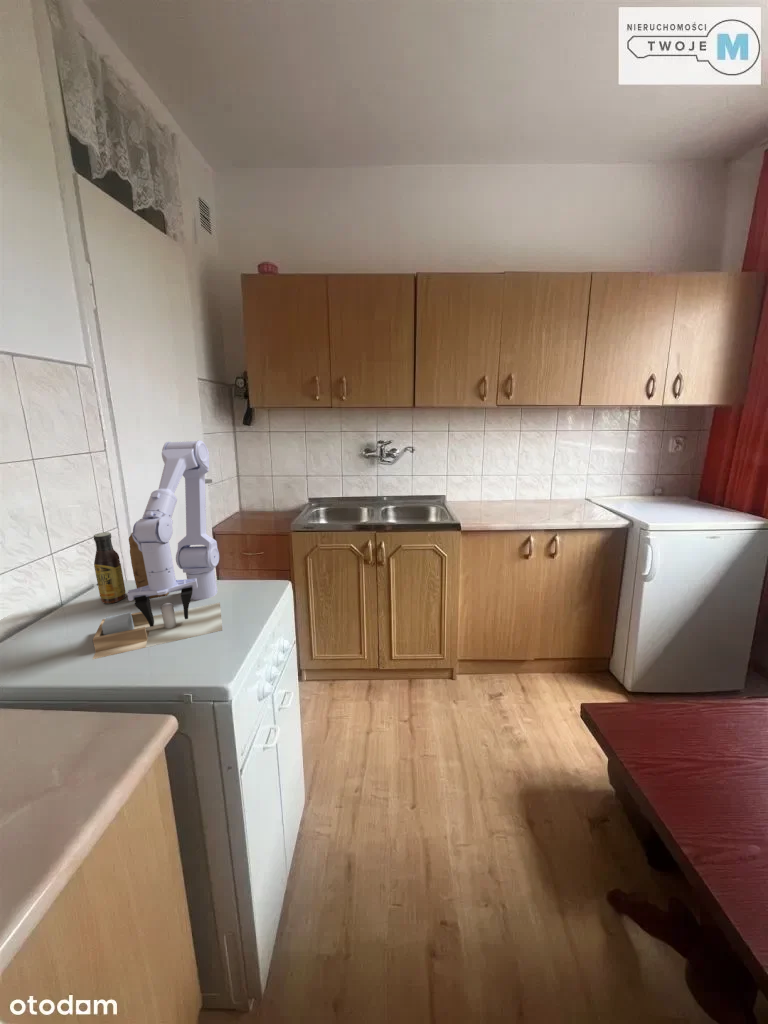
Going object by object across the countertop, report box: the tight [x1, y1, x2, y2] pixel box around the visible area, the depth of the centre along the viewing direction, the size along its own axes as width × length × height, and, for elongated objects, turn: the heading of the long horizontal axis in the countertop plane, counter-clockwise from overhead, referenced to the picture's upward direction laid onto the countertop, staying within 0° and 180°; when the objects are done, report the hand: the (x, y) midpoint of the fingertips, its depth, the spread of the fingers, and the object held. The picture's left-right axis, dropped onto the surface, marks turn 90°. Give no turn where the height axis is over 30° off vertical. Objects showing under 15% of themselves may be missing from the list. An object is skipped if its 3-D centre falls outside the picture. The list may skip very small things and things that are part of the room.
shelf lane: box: [92, 602, 223, 660], centre depth 101 cm, size 16×26×4 cm, turn 113°
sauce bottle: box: [93, 531, 127, 604], centre depth 119 cm, size 6×6×20 cm
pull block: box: [102, 602, 177, 635], centre depth 99 cm, size 5×14×6 cm, turn 113°
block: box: [128, 531, 170, 600], centre depth 121 cm, size 11×8×20 cm
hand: (169, 620), depth 101 cm, fingers open, 7 cm apart
